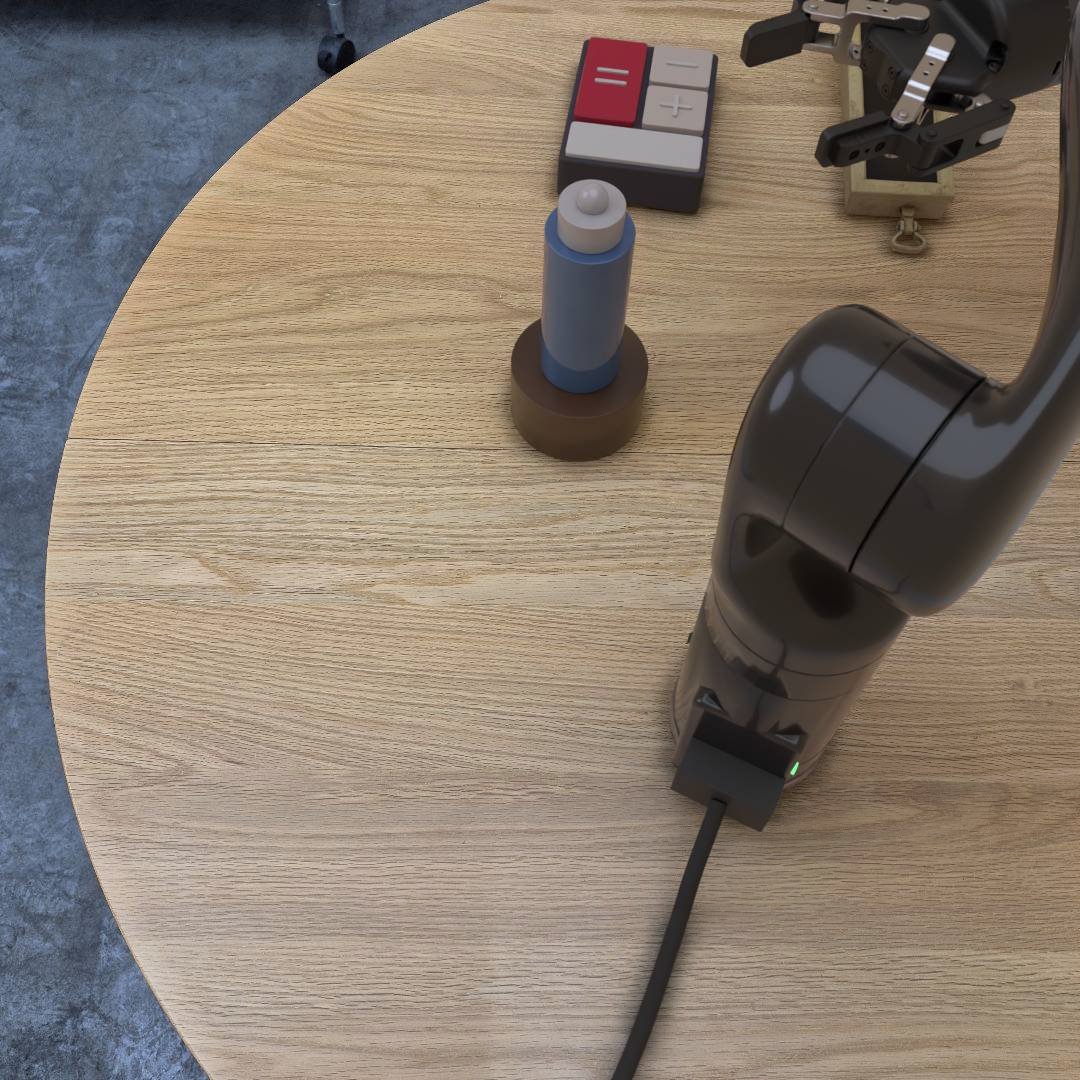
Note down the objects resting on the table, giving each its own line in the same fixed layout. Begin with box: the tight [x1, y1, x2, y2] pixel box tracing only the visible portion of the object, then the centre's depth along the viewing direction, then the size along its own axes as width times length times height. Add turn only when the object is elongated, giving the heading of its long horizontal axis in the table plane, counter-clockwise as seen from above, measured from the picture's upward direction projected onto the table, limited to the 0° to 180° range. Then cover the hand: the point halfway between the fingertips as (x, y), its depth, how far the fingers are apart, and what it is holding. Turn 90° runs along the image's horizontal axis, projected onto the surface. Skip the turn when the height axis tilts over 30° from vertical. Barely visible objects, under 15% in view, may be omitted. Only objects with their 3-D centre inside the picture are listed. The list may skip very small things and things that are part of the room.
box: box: [839, 22, 956, 255], centre depth 94 cm, size 8×22×5 cm, turn 178°
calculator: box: [556, 36, 719, 214], centre depth 94 cm, size 11×4×15 cm
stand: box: [510, 317, 650, 462], centre depth 81 cm, size 9×9×5 cm
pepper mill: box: [540, 180, 637, 394], centre depth 72 cm, size 5×5×15 cm
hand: (781, 98), depth 66 cm, fingers open, 8 cm apart
